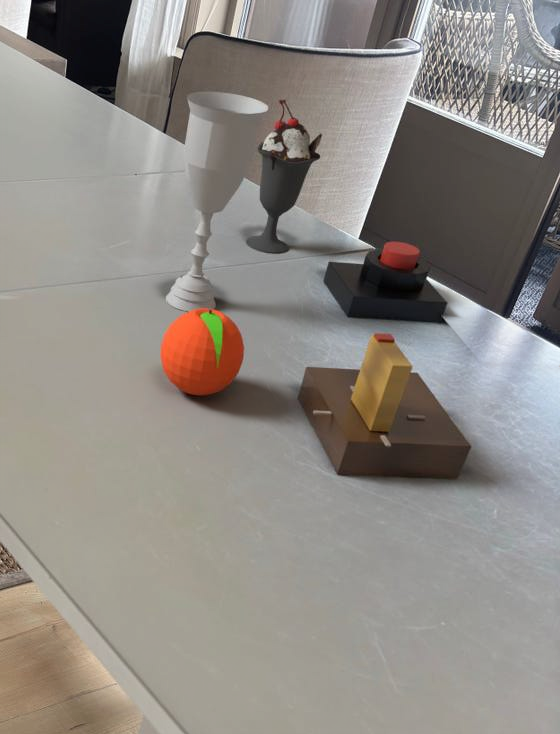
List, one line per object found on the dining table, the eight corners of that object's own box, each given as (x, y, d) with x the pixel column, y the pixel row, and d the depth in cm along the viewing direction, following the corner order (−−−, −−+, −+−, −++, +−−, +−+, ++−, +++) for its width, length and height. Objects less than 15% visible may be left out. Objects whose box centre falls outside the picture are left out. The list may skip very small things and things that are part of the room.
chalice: (216, 288, 100) (255, 94, 88) (235, 317, 95) (279, 116, 83) (147, 286, 99) (178, 89, 87) (163, 315, 94) (197, 110, 82)
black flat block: (410, 287, 106) (422, 250, 104) (440, 323, 100) (454, 285, 97) (322, 281, 105) (333, 244, 102) (347, 317, 98) (359, 278, 96)
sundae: (225, 240, 111) (255, 94, 101) (262, 231, 115) (294, 89, 105) (270, 261, 108) (305, 112, 98) (307, 250, 112) (344, 106, 102)
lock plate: (406, 403, 86) (418, 370, 83) (460, 483, 76) (475, 448, 74) (279, 397, 84) (288, 363, 82) (319, 478, 75) (330, 442, 73)
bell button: (407, 259, 102) (412, 242, 101) (419, 273, 100) (425, 256, 99) (374, 257, 102) (380, 240, 101) (386, 270, 99) (391, 253, 98)
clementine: (247, 418, 81) (267, 336, 76) (166, 416, 79) (181, 334, 75) (222, 372, 86) (239, 294, 82) (147, 370, 85) (159, 290, 80)
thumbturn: (389, 432, 75) (414, 363, 71) (369, 431, 75) (393, 362, 71) (369, 400, 79) (391, 332, 75) (350, 399, 78) (371, 331, 75)
